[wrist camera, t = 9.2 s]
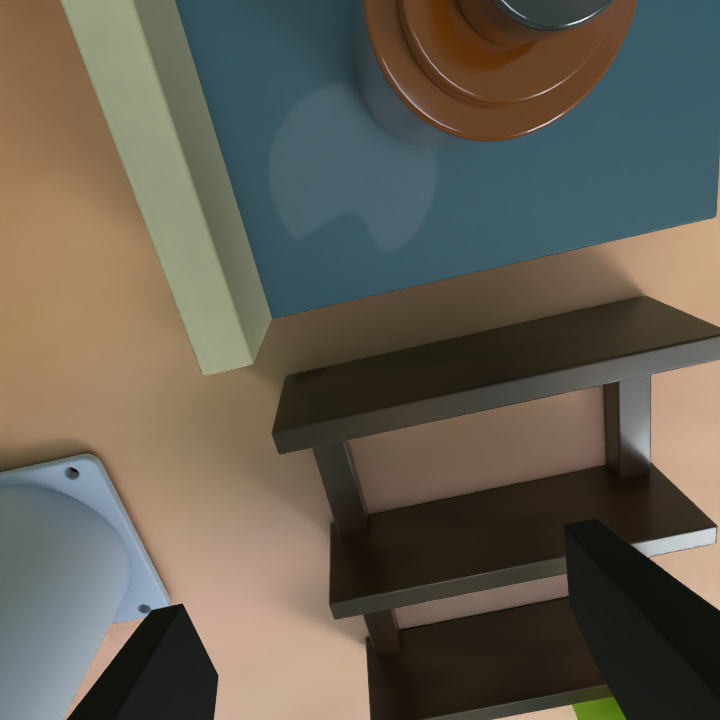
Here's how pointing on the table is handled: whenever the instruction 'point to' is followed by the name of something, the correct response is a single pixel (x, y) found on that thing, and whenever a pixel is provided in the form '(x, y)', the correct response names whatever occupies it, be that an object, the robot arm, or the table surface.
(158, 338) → the table surface
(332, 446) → the shelf rack
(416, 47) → the bottle
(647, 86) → the sill
